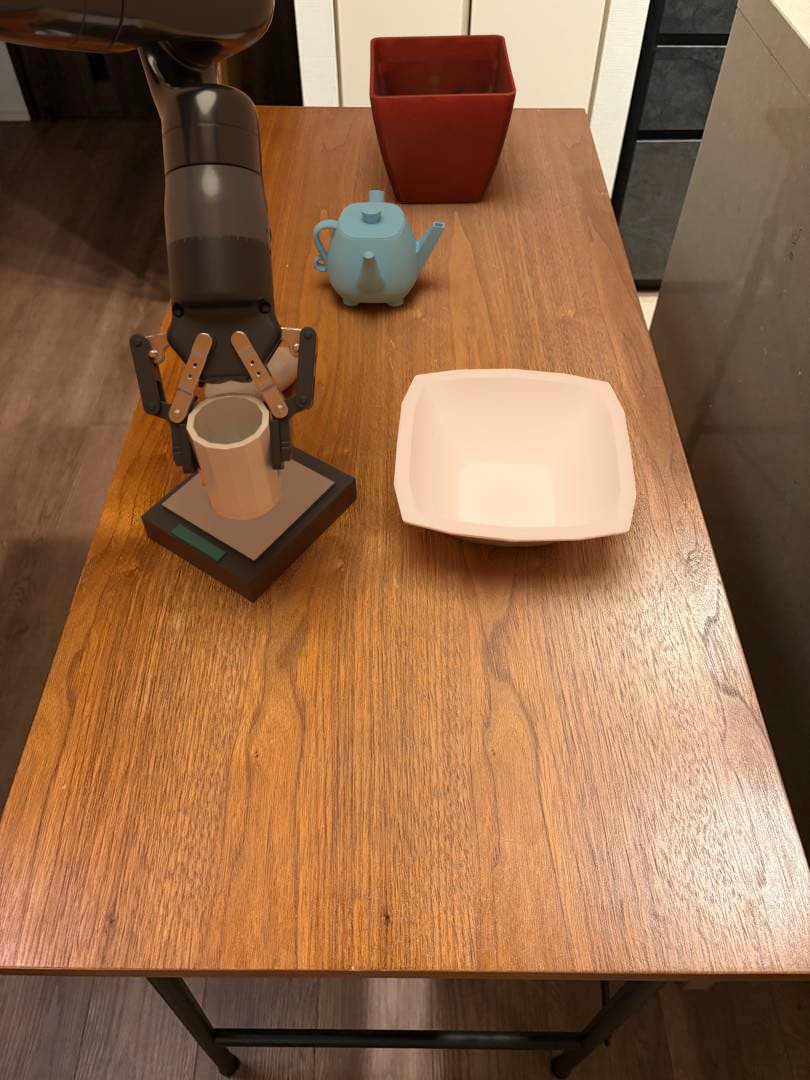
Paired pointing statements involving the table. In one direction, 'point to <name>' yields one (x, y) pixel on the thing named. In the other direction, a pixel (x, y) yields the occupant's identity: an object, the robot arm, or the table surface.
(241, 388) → the stone
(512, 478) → the bowl
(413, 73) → the flower pot
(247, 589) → the scale
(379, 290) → the teapot
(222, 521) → the scale pan
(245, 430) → the cup
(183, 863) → the table surface
